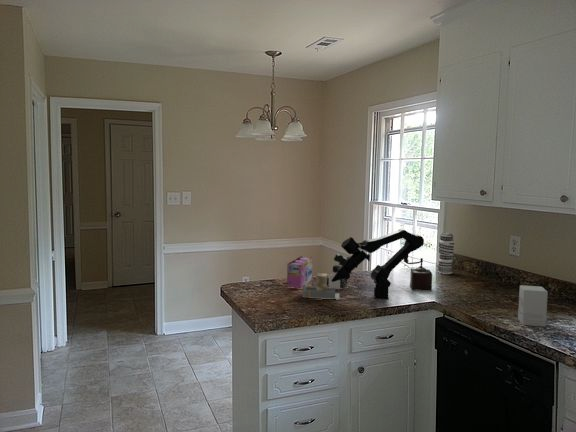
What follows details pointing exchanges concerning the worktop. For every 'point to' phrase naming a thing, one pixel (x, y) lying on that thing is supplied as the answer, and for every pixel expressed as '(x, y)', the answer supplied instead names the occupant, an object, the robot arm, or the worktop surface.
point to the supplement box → (532, 305)
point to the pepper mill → (420, 277)
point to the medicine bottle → (340, 283)
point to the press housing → (319, 292)
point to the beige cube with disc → (322, 282)
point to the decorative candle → (445, 253)
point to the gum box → (299, 272)
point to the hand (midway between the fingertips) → (332, 281)
